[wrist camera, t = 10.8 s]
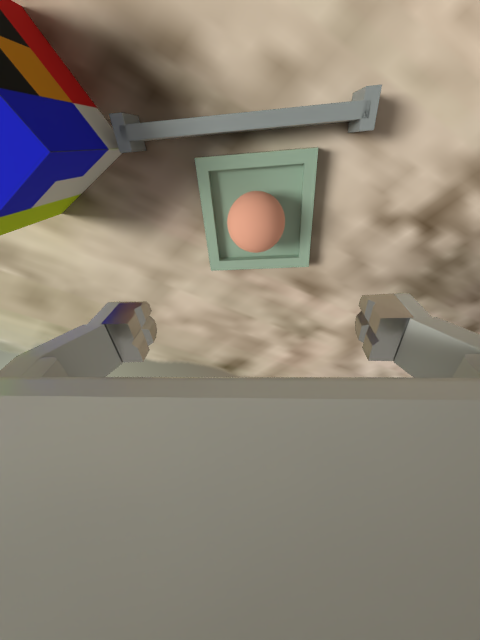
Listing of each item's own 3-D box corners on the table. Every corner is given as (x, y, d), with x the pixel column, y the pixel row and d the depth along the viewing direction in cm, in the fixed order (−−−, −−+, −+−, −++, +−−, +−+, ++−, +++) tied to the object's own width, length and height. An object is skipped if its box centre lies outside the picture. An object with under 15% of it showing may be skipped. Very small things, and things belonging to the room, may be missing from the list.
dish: (198, 157, 22) (194, 158, 21) (315, 147, 21) (318, 147, 20) (213, 264, 28) (211, 270, 27) (306, 261, 27) (308, 266, 26)
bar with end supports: (126, 117, 21) (108, 113, 19) (366, 91, 19) (381, 84, 17) (135, 151, 23) (119, 152, 20) (360, 131, 21) (373, 130, 18)
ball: (228, 188, 23) (219, 198, 19) (284, 184, 23) (287, 194, 18) (233, 243, 26) (226, 262, 22) (283, 241, 25) (285, 260, 21)
